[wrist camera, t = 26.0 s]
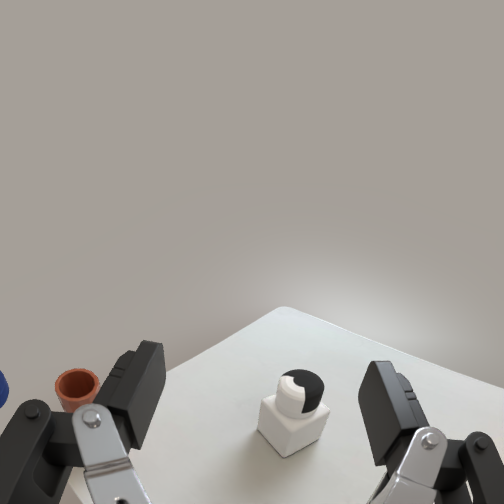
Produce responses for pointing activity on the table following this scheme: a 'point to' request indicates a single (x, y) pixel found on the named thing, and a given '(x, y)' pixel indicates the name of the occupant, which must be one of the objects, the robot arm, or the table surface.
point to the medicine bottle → (294, 412)
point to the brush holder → (76, 388)
